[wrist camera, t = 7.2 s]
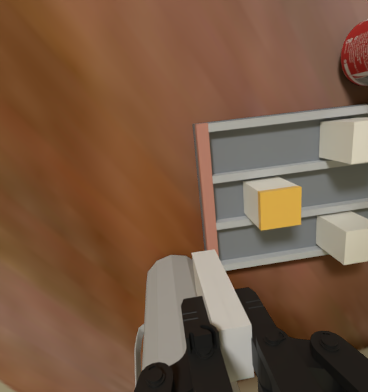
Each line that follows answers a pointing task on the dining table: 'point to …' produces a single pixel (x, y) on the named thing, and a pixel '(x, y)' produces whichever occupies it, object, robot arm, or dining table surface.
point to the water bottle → (166, 313)
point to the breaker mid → (272, 202)
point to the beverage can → (356, 55)
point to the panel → (271, 167)
